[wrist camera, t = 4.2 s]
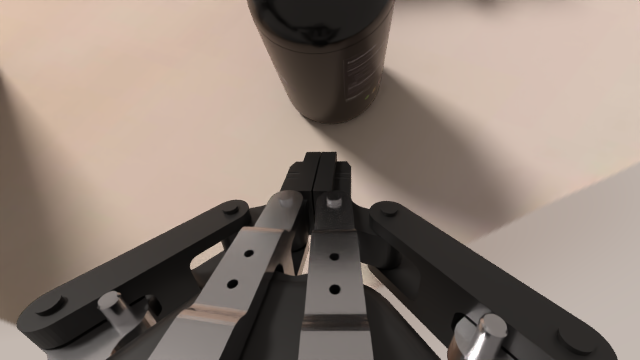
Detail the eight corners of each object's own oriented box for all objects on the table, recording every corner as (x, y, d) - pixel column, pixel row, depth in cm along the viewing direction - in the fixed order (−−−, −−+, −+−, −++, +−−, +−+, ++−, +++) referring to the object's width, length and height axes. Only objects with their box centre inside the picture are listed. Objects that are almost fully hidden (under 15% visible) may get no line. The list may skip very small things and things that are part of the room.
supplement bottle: (270, 98, 20) (156, -95, 9) (322, 31, 21) (282, -229, 9) (345, 145, 19) (331, -14, 7) (399, 70, 19) (464, -184, 8)
